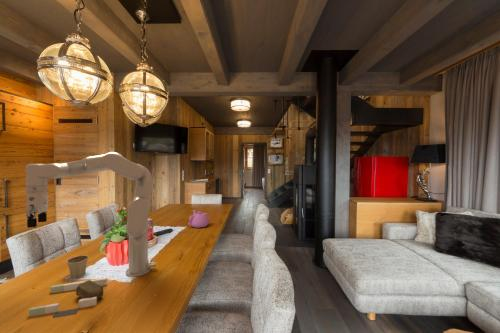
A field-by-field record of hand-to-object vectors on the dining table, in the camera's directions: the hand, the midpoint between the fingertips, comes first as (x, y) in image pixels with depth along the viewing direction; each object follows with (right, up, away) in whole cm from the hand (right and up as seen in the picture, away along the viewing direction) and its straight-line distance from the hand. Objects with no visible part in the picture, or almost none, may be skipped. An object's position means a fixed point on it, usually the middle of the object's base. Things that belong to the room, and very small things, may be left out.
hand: (37, 224), depth 107 cm
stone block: (+28, -31, -7) cm, 43 cm away
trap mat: (+30, -31, -19) cm, 47 cm away
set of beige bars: (+25, -31, -9) cm, 40 cm away
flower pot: (+11, -30, +11) cm, 34 cm away
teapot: (+53, -29, +106) cm, 122 cm away
